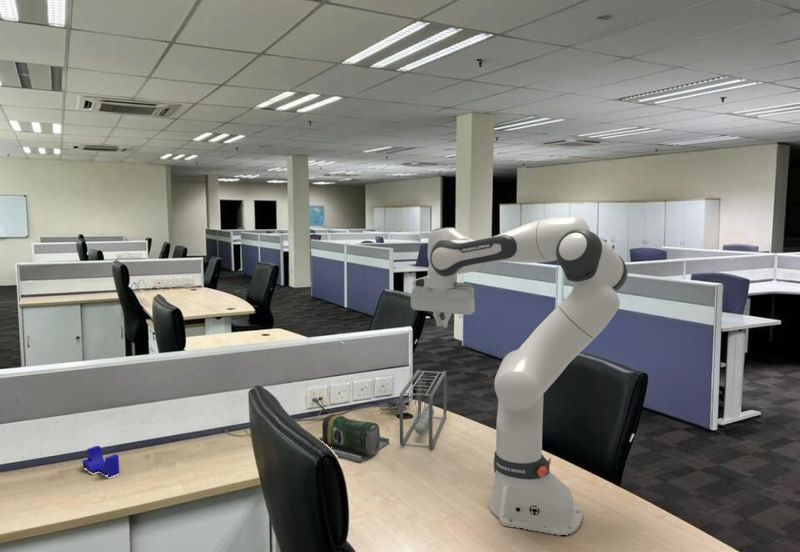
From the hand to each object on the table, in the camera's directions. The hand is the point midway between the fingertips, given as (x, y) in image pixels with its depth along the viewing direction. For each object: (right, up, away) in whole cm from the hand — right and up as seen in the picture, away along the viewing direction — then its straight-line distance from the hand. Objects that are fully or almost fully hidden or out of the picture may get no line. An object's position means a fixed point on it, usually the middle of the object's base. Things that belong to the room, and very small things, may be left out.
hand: (442, 326), depth 174 cm
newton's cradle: (-4, -38, +20) cm, 43 cm away
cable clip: (-99, -42, -9) cm, 107 cm away
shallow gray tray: (-29, -39, +8) cm, 49 cm away
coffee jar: (-20, -34, -1) cm, 40 cm away
